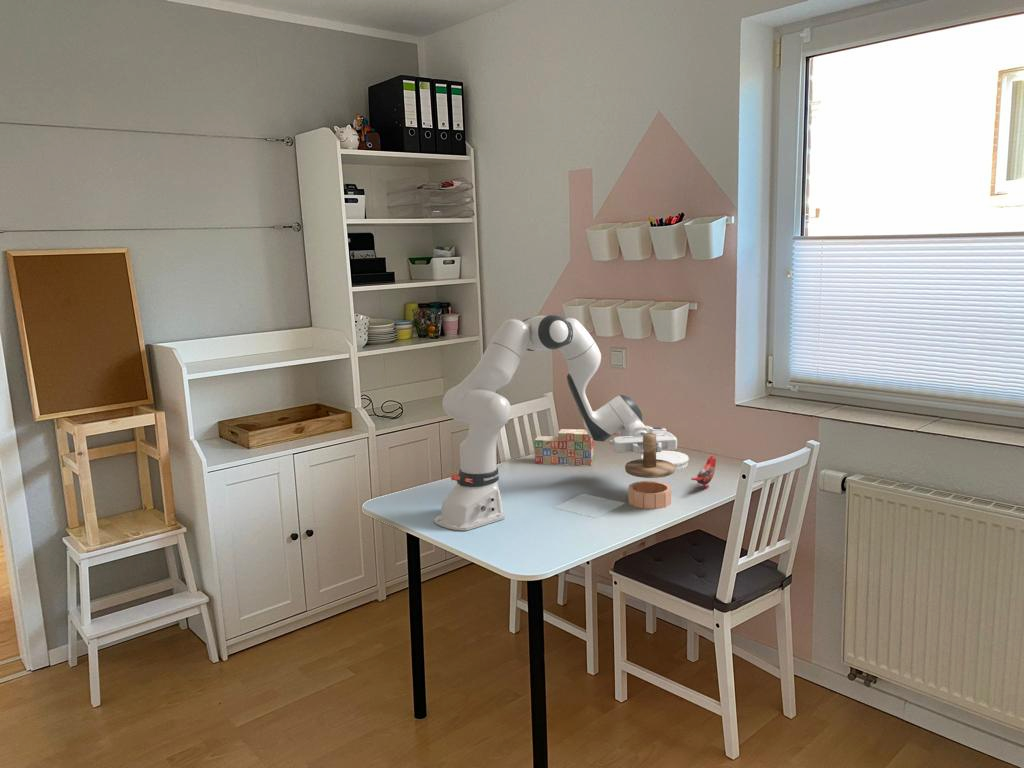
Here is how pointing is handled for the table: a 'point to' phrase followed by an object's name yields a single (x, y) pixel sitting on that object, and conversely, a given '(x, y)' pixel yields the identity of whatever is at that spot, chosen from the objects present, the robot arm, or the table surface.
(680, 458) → the lid
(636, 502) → the terracotta bowl
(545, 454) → the stack of blocks
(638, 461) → the walnut lid
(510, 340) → the robot arm
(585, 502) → the rubber mat
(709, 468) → the decorative bird figurine
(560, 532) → the table surface
